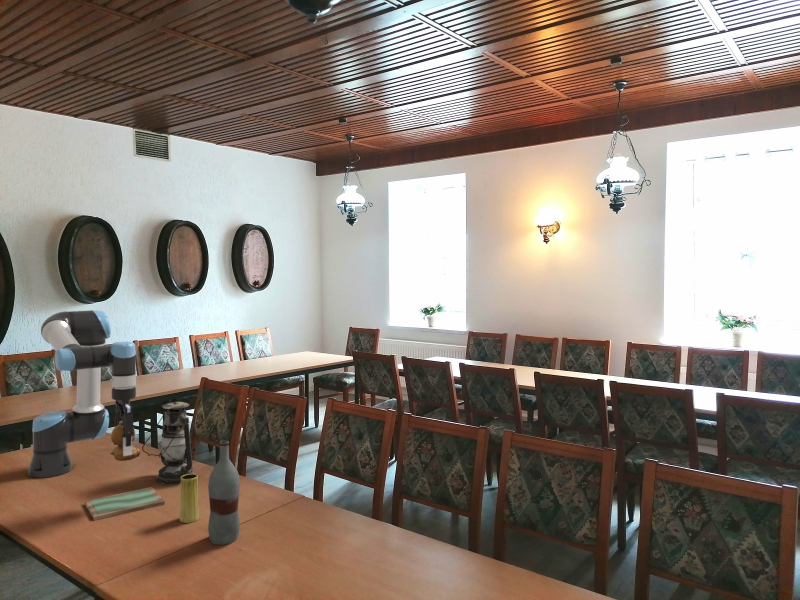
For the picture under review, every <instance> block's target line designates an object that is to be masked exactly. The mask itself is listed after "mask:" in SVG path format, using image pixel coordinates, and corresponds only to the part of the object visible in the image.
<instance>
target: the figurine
mask: <svg viewBox="0 0 800 600" xmlns="http://www.w3.org/2000/svg"><path fill="white" fill-rule="evenodd" d="M128 433H129V432H128ZM123 435H124V431H123V423H122V421H120V422H119V425H118V426H115V425H114V427H113V429H112V431H111V436H110V437H111V442H112V443H113V445H114V446H115V447H114V448H113V450H112V451H110V453H109V454H110V455H112V456H113V457H114V459H115V461H117V462H118V461H119V462H122V461H123V462H125V461H131V460H134V459H136V458H138V457H139V456H140V455H141V449H139V448H136V447H135V445H134V444H133V442H134V441H135V438H136V430H135V428H134V436H132V455H128V456H123V438H122V436H123ZM117 445H118V446H117Z"/></svg>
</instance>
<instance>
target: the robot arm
mask: <svg viewBox="0 0 800 600" xmlns="http://www.w3.org/2000/svg"><path fill="white" fill-rule="evenodd" d="M111 329H112V328H111V325H110V320H109V317H108V315H107V313H106V312H104V311H103V310H76V311H75V310H73V311H72V310H71V311H65V310H64V311H59V312H56V313H54V314H52V315H51V316H49V317H48V318H46V319H45V320H44V322H43V323H42V324H41V327H40V336H41V337H42V339H43V340H44V341H45V342H46V343H48V344H50V345H51V347H52V348H53V350H54V351H55V352H54V365H55V369H56V370H57V371H60V372H62V371H67V372H71V371H76V404H75V405H74V406H73V407H72V409H71V411H72V412H71V413H67V411H66V410H55V411H54V410H53V411H50V412H45V413H42V414H39V415H38V416H36V417H35V418H34V419H33V420H32V429H31V431H32V457H31V460H30V462H29V465H28V469H27V476H29V477H30V478H35V479H36V478H37V479H38V478H40V479H42V478H52V477H56V476H61V475H64V474H66V473H69V472H70V471H72V470H73V461H72V459H71V457H70V454H69V452H68V444H69V443H75V442H81V441H82V442H83V441H88V440H95V439H99V438H103V437H104V436H105V435H106V434H107V432H108V429H109V425H110V415H109V411H108V409H107V408H105V405H104V404H102V403H101V383H102V382H101V376H102V375H101V374H102V373H101V371H102V369H101V368H111V378H109V381H110V382H111V387H112V389H111V399H112V400H113V401H115V402H114V403H115V416H114V417H115V418H114V427H115V426H118V425H119V422H120V421H122V423H123V431H124V435H123V436H122V438H123V456H128V455H132V444H133V442H132V436H134V429H135V427H134V413H133V412H134V411H133V409H134V408H133V407H134V406H132V403H131V402H130V400H133V399H135V398H136V397H137V388H136V386H137V374H136V369H137V366H136V364H137V363H136V362H137V361H136V360H137V359H136V357H137V356H136V355H137V351H136V344H135V343H134V342H132V341H118V342H117V341H116V342H113V343H111V344H107V345H105V344H106V340H107V339H109V338H111V334H112V332H111V331H112V330H111ZM128 432H129V433H128ZM117 446H118V445H116V447H117Z"/></svg>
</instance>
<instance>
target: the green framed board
mask: <svg viewBox="0 0 800 600" xmlns="http://www.w3.org/2000/svg"><path fill="white" fill-rule="evenodd" d="M165 501H166V500H164V499H163V498H162V497H161V495H160V494H159V493H158V492H157V491H156V490H155V489H154V487H152V486H150V487H144V488H141V489H136V490H135V489H134V490H131V491H126V492H122V493H116V494H112V495H108V496H103V497H99V498H98V497H97V498H92V499H89V500H85V501H84V505H85V508H86V509H87V511H88V512H89V514H90V516H91V518H92V519H93V521H99V520H102V519H106V518H110V517H115V516H121V515H125V514H128V513H133V512H136V511H142V510H146V509H150V508H154V507H159V506H163V505H165V504H166V503H165Z"/></svg>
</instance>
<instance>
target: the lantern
mask: <svg viewBox="0 0 800 600" xmlns="http://www.w3.org/2000/svg"><path fill="white" fill-rule="evenodd" d="M189 406H190V403H187V402H183V401H173V402H168V403H165V404H162V405H161V408H163V409H164V410H166V411H163V413H162V416H161V418H160V419H159V421H158V422H157V425H156V427H155V429H154V430H153V431H152V432H151V435H149V437H148V438H147V440H146V441H145V443H143V445H142V446H141V449H142V450H141V451H142V452H144V453H145V454H146V455H148V457H150V456H153V457H158V458H160V460H161V463H162V464H163V465H164V466H163V467H161V468H160V469H159V470H158V474H157V476H156V479H155V481H156V482H157V483H158V484H161V485H179V484H180V485H181V476H183V475H186V474H195V471H194V469H193V457H192V453H193V452H196V451H197V449H196V448H192V446H191V445H192V444H191V443H192V440H191V432H190V424H189V423H190V420H189V417H188V416H187V410H186V408H188V407H189ZM162 419H163V421H162ZM161 421H162V433H161V441H160V442H159V447H160V452H159V454H152V453H151V454H150V452H149V453H148V452H147V451H145V450H144V447H145V446H146V444H147V443H148V442H149V440H150V438H151V437H152V435H153V434H154V433H155V432H156V430H157V429H158V426H159V424H160V422H161Z"/></svg>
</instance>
